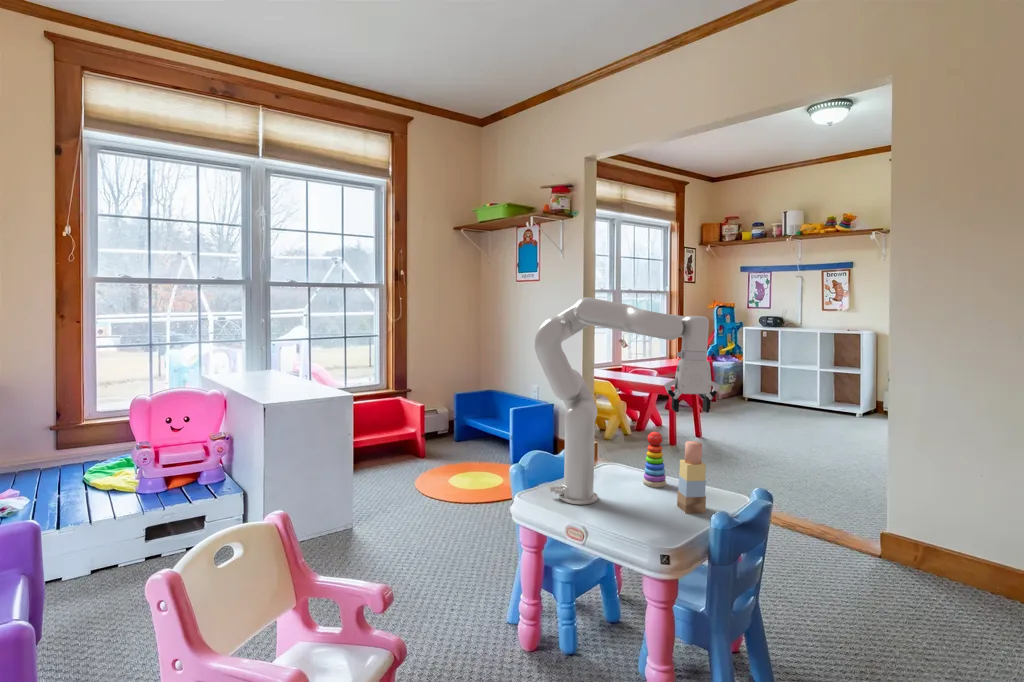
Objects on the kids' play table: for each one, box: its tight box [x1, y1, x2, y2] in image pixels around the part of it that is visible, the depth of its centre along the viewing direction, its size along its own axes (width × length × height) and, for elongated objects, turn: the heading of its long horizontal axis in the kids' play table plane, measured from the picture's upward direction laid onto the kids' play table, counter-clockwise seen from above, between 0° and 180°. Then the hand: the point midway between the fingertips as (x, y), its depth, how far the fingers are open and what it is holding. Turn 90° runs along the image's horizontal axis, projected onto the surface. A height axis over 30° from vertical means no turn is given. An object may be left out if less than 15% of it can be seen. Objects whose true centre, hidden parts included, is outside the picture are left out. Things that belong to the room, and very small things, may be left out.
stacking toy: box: [642, 431, 667, 488], centre depth 205 cm, size 8×8×19 cm
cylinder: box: [684, 440, 703, 465], centre depth 181 cm, size 5×5×6 cm
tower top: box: [678, 459, 707, 481], centre depth 182 cm, size 6×6×5 cm
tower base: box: [676, 490, 707, 514], centre depth 182 cm, size 6×6×5 cm
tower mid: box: [678, 474, 707, 497], centre depth 182 cm, size 6×6×5 cm
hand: (690, 411), depth 181 cm, fingers open, 9 cm apart
